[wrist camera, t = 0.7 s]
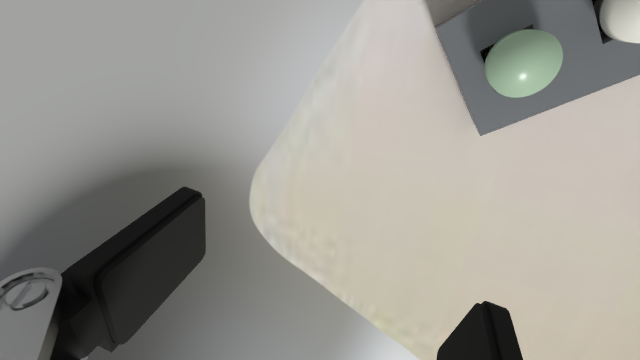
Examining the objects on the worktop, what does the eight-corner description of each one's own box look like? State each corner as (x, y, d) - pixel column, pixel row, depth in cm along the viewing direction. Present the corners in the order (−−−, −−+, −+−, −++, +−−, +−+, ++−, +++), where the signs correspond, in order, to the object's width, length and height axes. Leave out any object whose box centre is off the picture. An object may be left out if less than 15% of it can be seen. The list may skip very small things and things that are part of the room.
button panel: (852, -221, 15) (937, -267, 13) (851, -27, 18) (920, -34, 16) (434, 27, 26) (435, 28, 23) (475, 125, 29) (480, 136, 26)
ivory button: (654, -50, 19) (711, -67, 15) (666, 15, 20) (721, 15, 17) (571, -7, 21) (604, -12, 17) (587, 50, 22) (620, 57, 19)
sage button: (530, 15, 22) (552, 15, 19) (547, 68, 24) (570, 78, 20) (470, 47, 24) (478, 53, 21) (488, 94, 26) (499, 108, 22)
